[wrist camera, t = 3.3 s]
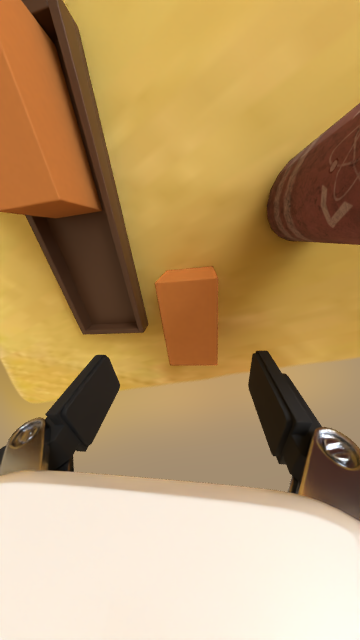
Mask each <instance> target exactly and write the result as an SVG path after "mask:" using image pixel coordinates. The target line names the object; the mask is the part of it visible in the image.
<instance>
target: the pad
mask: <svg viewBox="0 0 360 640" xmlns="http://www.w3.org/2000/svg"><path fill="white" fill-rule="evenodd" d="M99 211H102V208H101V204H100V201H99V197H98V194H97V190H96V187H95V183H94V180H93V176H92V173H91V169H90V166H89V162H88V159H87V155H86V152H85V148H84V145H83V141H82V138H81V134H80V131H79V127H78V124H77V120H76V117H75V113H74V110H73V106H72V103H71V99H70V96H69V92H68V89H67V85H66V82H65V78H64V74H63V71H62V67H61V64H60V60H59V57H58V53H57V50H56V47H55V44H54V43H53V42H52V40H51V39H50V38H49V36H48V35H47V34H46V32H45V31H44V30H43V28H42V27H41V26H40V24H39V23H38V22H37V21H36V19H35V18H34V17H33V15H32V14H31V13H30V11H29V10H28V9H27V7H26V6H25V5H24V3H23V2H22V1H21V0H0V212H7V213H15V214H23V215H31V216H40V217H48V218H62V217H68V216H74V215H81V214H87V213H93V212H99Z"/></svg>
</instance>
